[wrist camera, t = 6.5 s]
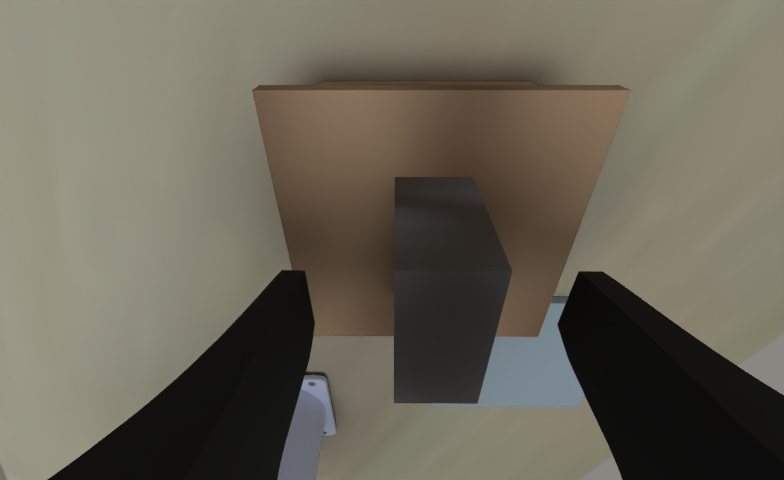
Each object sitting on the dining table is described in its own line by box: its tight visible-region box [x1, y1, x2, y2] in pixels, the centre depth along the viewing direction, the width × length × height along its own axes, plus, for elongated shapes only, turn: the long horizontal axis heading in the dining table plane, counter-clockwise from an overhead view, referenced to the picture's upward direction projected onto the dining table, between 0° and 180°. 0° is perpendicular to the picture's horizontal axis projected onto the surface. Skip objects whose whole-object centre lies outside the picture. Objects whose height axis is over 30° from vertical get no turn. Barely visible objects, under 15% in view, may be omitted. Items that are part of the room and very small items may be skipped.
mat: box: [430, 297, 585, 408], centre depth 23 cm, size 11×11×1 cm
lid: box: [252, 85, 630, 404], centre depth 11 cm, size 10×10×5 cm
